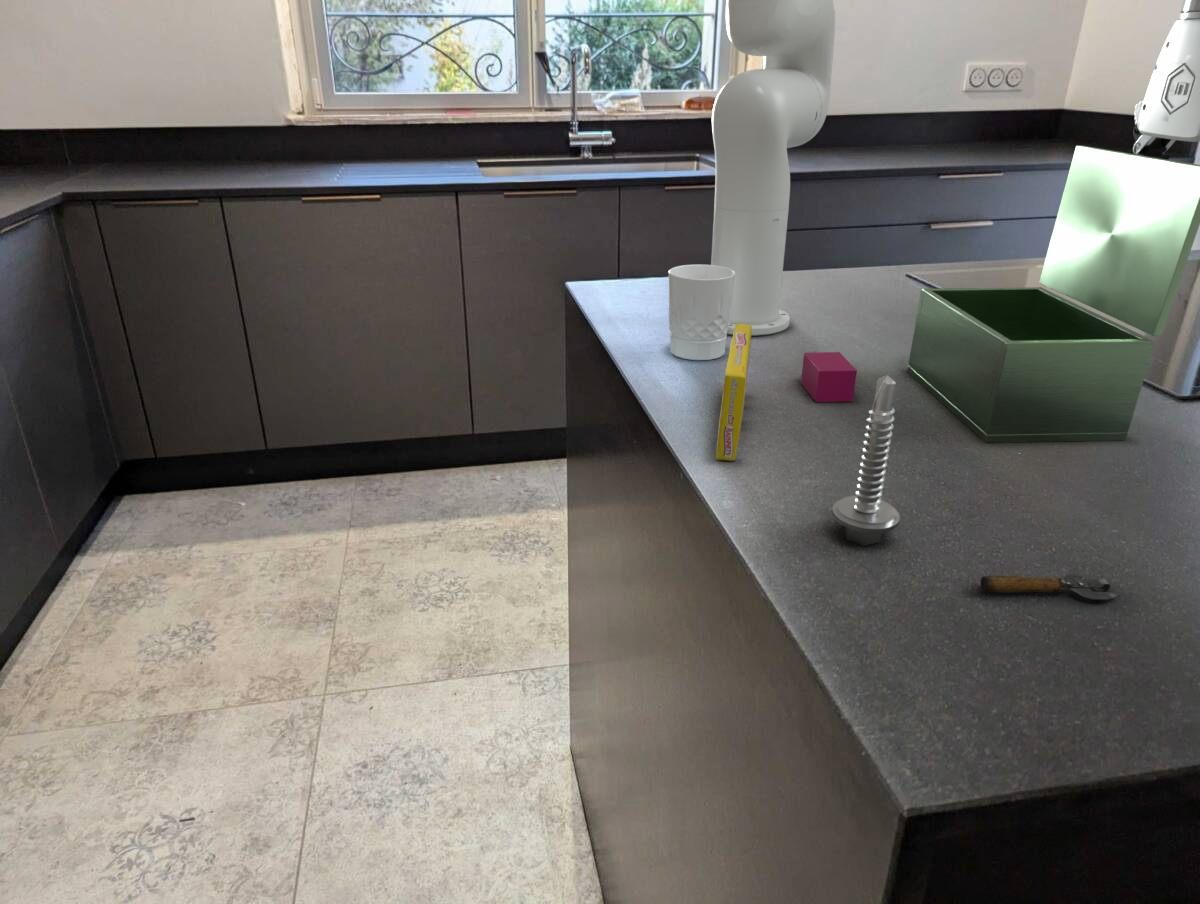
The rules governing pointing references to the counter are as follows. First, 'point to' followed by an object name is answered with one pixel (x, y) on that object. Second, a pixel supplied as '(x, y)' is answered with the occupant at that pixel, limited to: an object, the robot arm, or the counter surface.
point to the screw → (872, 476)
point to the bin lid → (1124, 234)
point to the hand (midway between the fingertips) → (1173, 204)
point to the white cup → (700, 310)
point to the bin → (1027, 364)
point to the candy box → (734, 393)
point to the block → (828, 377)
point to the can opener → (1047, 585)
